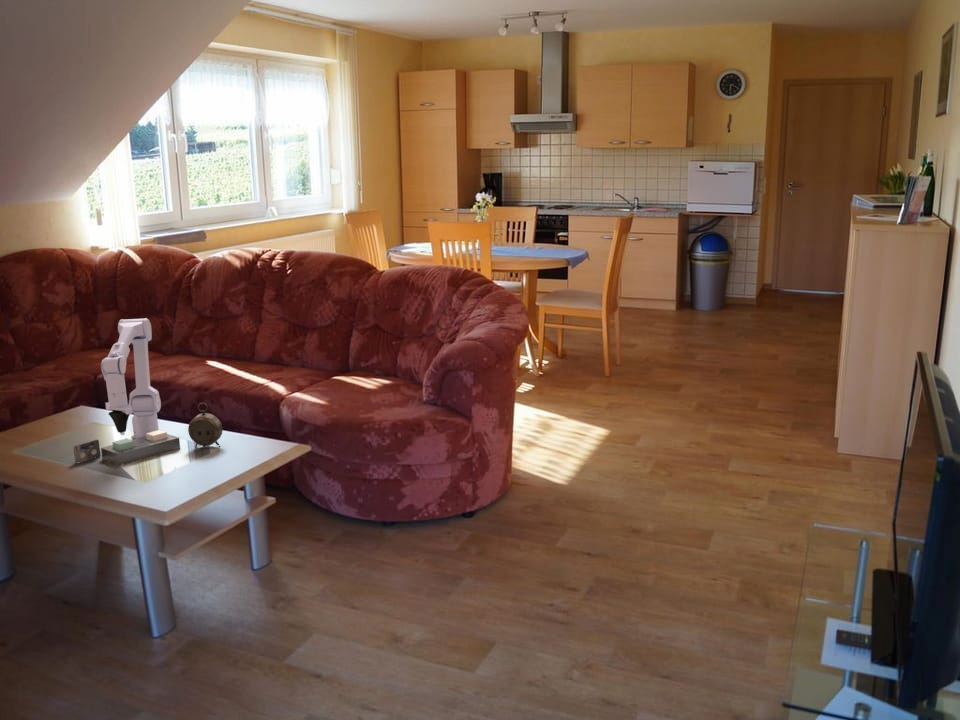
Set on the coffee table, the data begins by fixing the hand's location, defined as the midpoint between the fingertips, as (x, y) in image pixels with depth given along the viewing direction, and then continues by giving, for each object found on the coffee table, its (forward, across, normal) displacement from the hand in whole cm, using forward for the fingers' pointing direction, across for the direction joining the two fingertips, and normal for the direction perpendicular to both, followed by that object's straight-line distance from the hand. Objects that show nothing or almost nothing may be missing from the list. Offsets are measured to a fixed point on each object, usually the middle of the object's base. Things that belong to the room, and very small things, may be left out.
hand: (121, 431), depth 290 cm
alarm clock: (+10, +13, +23) cm, 28 cm away
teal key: (+7, 0, 0) cm, 7 cm away
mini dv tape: (+10, -10, -8) cm, 16 cm away
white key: (+7, 0, +12) cm, 14 cm away
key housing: (+9, 0, +6) cm, 11 cm away
